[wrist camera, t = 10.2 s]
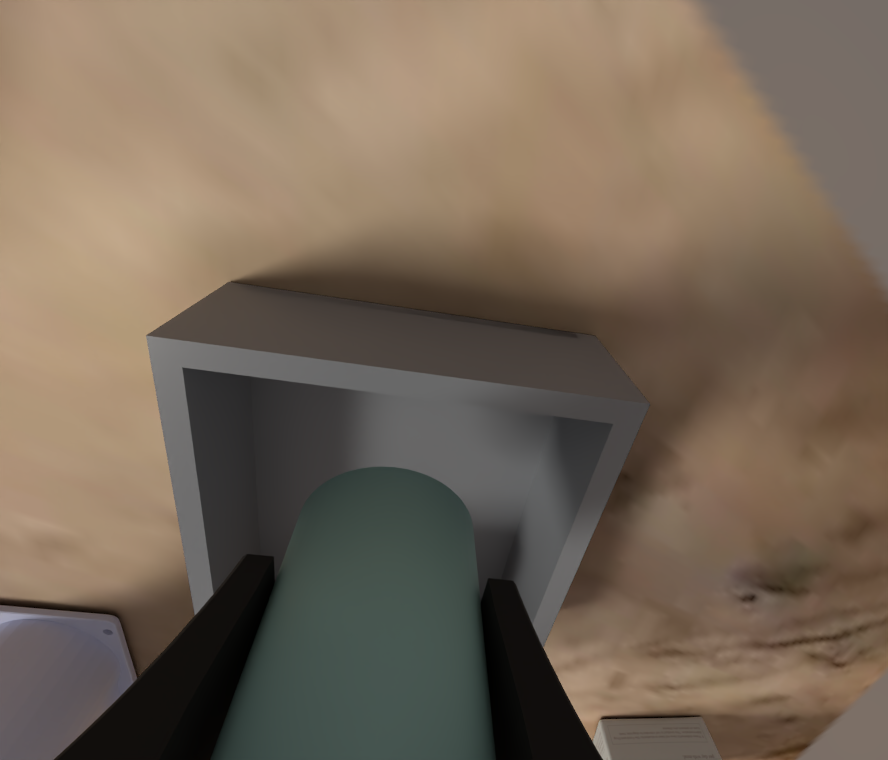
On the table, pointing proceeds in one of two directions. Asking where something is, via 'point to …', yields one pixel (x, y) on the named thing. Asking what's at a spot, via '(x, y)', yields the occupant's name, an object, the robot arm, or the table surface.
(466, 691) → the teal cylinder
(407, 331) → the tote
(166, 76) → the table surface
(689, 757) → the supplement box
